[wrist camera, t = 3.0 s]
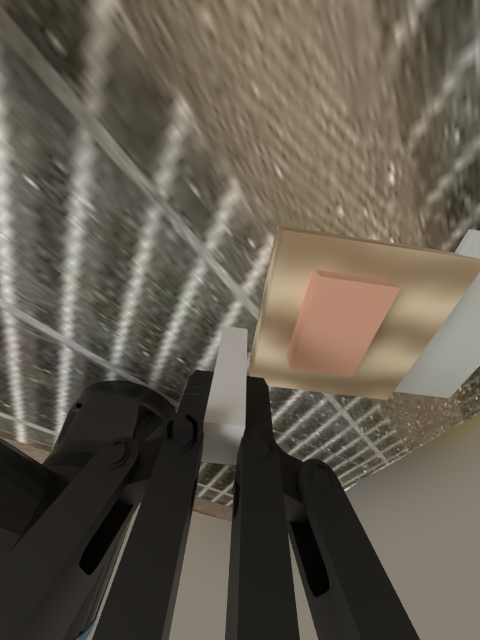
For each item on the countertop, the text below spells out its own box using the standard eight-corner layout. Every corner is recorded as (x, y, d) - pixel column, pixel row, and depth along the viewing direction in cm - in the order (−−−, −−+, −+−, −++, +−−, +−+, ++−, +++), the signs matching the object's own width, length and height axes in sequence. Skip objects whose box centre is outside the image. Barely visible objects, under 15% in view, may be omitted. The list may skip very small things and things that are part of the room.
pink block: (343, 362, 21) (351, 377, 20) (286, 355, 21) (289, 369, 19) (384, 279, 17) (400, 287, 15) (313, 269, 17) (321, 276, 15)
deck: (369, 375, 27) (387, 400, 24) (249, 360, 27) (250, 383, 23) (444, 250, 19) (487, 260, 16) (277, 225, 19) (284, 230, 15)
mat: (446, 395, 29) (449, 398, 28) (370, 386, 28) (371, 388, 28) (582, 247, 19) (588, 247, 19) (468, 229, 18) (473, 229, 18)
